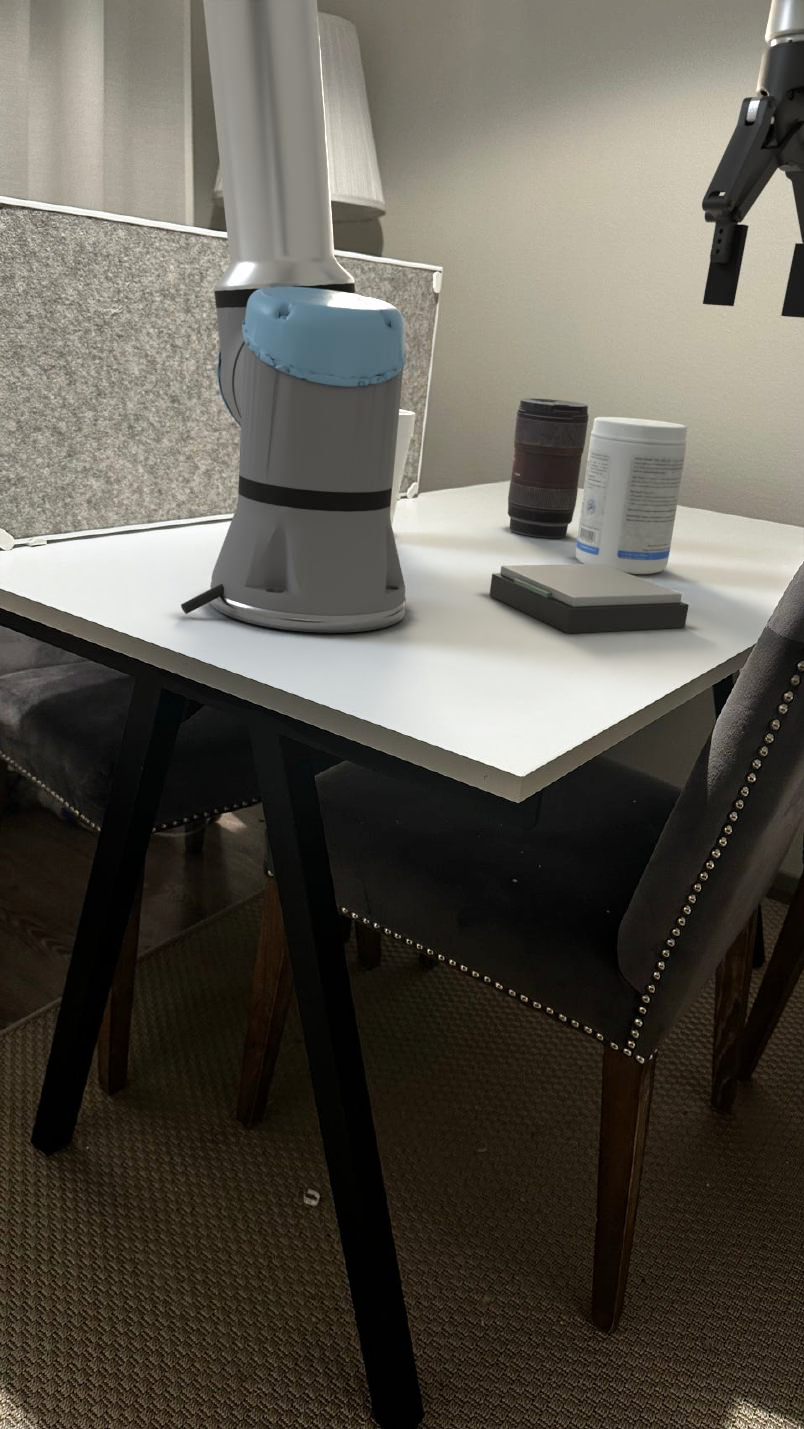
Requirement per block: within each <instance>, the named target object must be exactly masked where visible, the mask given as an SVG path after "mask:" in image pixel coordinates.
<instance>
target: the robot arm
mask: <svg viewBox="0 0 804 1429" xmlns="http://www.w3.org/2000/svg"><path fill="white" fill-rule="evenodd" d="M202 2H203V10H204V11H203V12H204V20H205V30H206V31H205V32H206V39H207V49H208V50H207V51H208V60H209V69H210V71H209V72H210V80H211V89H212V100H213V101H212V102H213V110H214V119H215V129H216V140H217V148H218V155H219V156H218V157H219V168H220V177H221V178H220V179H221V187H222V197H223V208H224V216H225V225H226V226H225V227H226V237H227V246H228V256H229V257H228V258H229V263H228V266H227V268H226V270H225V271H224V272H223V273H222V275H221V276H220V278H219V279H218V280H217V282H216V283H215V284H214V286H213V292H214V300H215V310H216V319H217V329H218V340H219V353H218V355H217V359H218V361H217V365H216V379H217V384H218V389H219V393H220V396H221V399H222V402H223V404H224V406H225V408H226V409H227V410H228V413H229V414H230V416H231V417H232V418H233V420H234V421H235V422H236V423H237V425H238V426H239V427H240V438H239V462H238V464H239V465H238V488H237V489H238V490H237V503H236V507H235V511H234V513H233V516H232V519H231V521H230V524H229V526H228V529H227V532H226V535H225V538H224V540H223V543H222V546H221V549H220V551H219V554H218V557H217V559H216V562H215V564H214V567H213V570H212V575H211V582H210V588H209V590H206V591H204V592H202V593H201V594H200V593H199V594H198V595H197V596H194V597H193V598H191V599H188V600H186V601H184V602H183V603H181V604H180V608H181V610H182V611H183V613H184V614H185V615H188V614H189V613H191V612H193V611H195V610H197V609H200V607H201V608H202V606H205V605H207V604H209V603H210V604H211V606H212V607H213V608H214V609H215V610H217V611H218V612H219V613H222V615H223V614H224V615H226V616H228V617H230V618H233V619H234V620H235V619H236V620H239V621H242V622H244V623H249V624H252V625H257V626H261V627H266V628H273V629H278V630H279V629H280V630H287V631H294V632H295V631H296V632H307V633H335V634H337V633H355V632H356V633H357V632H366V631H367V632H368V631H373V630H378V629H383V628H386V627H389V626H393V625H395V624H397V623H399V622H400V621H401V620H403V618H404V616H405V613H406V612H405V611H406V600H407V597H406V584H405V580H404V579H405V578H404V575H403V570H402V566H401V560H400V558H399V552H398V548H397V544H396V539H395V534H394V530H393V524H392V525H391V520H390V508H391V496H392V486H393V475H394V464H395V453H396V442H397V432H398V421H399V410H400V409H401V398H402V389H403V388H402V385H403V377H404V376H403V375H404V368H405V366H406V364H407V359H408V358H407V355H408V351H407V347H406V322H405V318H404V316H403V314H402V313H401V311H400V310H399V309H398V308H397V307H395V306H394V305H393V304H391V303H389V302H387V301H384V300H381V299H378V298H374V297H367V296H363V295H359V294H357V293H356V285H355V278H354V277H353V276H352V275H351V274H350V273H349V272H348V271H347V270H346V269H345V268H344V267H343V266H341V264H340V263H339V262H338V260H337V258H336V257H335V245H334V244H335V243H334V231H333V230H334V229H333V217H332V202H331V188H330V187H331V186H330V172H329V158H328V145H327V130H326V128H327V126H326V114H325V102H324V101H325V100H324V86H323V84H324V83H323V74H322V73H323V70H322V69H323V68H322V55H321V43H320V42H321V41H320V28H319V26H320V25H319V13H318V0H202ZM767 20H768V21H767V25H766V29H765V30H766V31H765V35H764V41H765V43H766V45H768V46H769V47H767V48H766V50H765V51H764V52H763V53H762V55H761V61H760V67H759V72H758V78H757V84H756V90H755V94H756V96H750V97H749V96H747V97H745V98H743V100H742V103H741V106H740V110H739V115H738V119H737V122H736V123H737V124H736V126H735V129H734V131H733V133H732V135H731V137H730V139H729V142H728V144H727V146H726V148H725V150H724V152H723V154H722V156H721V158H720V161H719V163H718V166H717V168H716V169H715V172H714V174H713V176H712V178H711V181H710V183H709V185H708V187H707V190H706V192H705V194H704V196H703V199H702V201H701V209H702V211H703V212H704V220H705V222H706V223H713V224H715V225H714V231H713V235H712V242H711V249H710V254H709V265H708V270H707V276H706V282H705V289H704V294H703V299H702V300H703V301H702V305H707V306H724V307H734V306H735V301H736V297H737V296H736V295H737V290H738V285H739V279H740V274H741V269H742V263H743V258H744V252H745V247H746V242H747V236H748V231H749V225H747V224H745V223H744V224H741V223H742V222H743V221H744V219H745V217H746V216H747V215H748V213H749V212H750V210H751V209H752V207H753V206H754V204H755V203H756V201H757V199H758V198H759V197H760V195H761V194H762V192H763V191H764V189H765V188H766V187H767V185H768V183H769V182H770V181H771V179H772V177H773V176H774V174H775V173H776V172H777V170H780V171H782V172H784V174H785V177H786V178H787V179H788V180H790V182H791V186H792V191H793V197H794V198H793V199H794V203H795V208H796V214H797V215H796V216H797V221H798V226H799V231H800V232H799V233H800V237H801V242H802V243H799V242H798V243H797V242H796V243H795V244H794V248H793V254H792V259H791V262H790V263H791V264H790V269H789V274H788V279H787V284H786V289H785V294H784V299H783V304H782V309H781V314H780V316H781V317H786V318H787V317H788V318H801V319H804V0H771V4H770V10H769V14H768V19H767ZM721 193H723V195H721Z"/></svg>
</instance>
